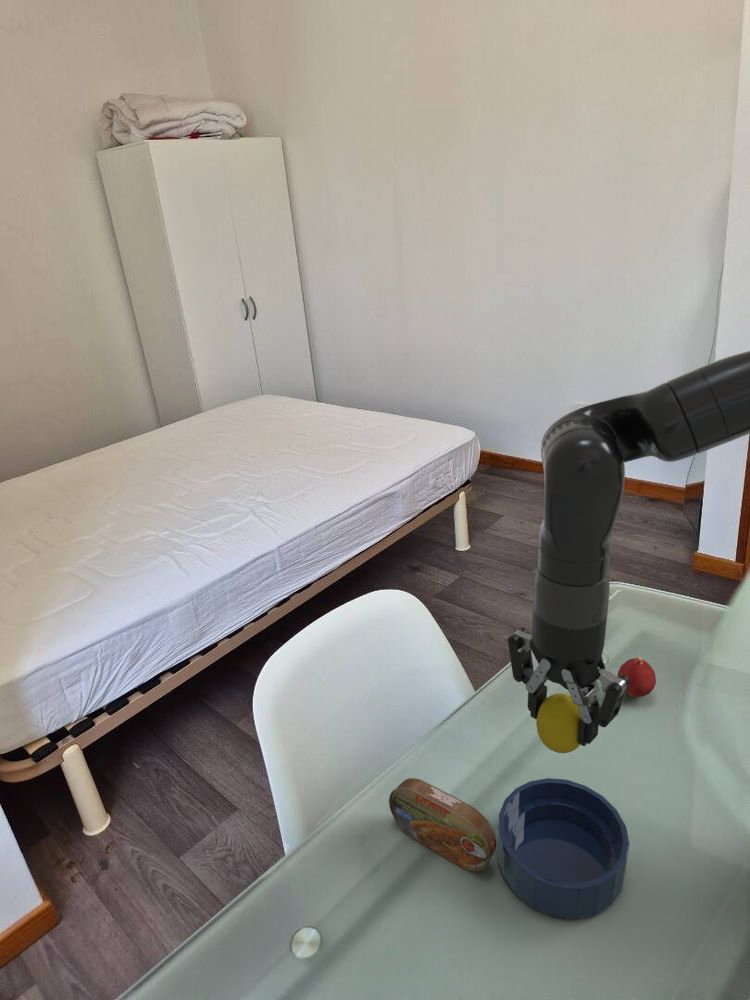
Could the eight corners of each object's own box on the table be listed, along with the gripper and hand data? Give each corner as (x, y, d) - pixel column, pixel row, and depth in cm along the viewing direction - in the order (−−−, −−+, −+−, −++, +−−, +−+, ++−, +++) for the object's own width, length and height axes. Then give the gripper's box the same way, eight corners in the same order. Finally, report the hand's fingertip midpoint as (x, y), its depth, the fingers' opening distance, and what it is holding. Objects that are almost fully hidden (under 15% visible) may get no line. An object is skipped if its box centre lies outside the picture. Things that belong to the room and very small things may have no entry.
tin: (389, 824, 93) (385, 780, 90) (402, 808, 96) (399, 764, 92) (487, 884, 85) (488, 837, 81) (499, 864, 87) (500, 818, 83)
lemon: (594, 753, 79) (599, 699, 76) (560, 776, 77) (564, 721, 73) (557, 725, 84) (561, 673, 80) (525, 746, 81) (527, 693, 78)
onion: (609, 686, 115) (613, 647, 111) (642, 681, 115) (648, 643, 112) (624, 710, 110) (629, 671, 106) (659, 706, 110) (665, 666, 107)
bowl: (646, 857, 87) (651, 825, 84) (582, 949, 77) (586, 915, 75) (540, 791, 97) (542, 759, 94) (473, 864, 87) (473, 832, 85)
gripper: (653, 615, 69) (636, 740, 76) (532, 567, 78) (527, 682, 86) (616, 651, 64) (601, 780, 72) (492, 595, 74) (490, 714, 81)
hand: (560, 726), depth 79 cm, fingers closed on lemon, 5 cm apart
